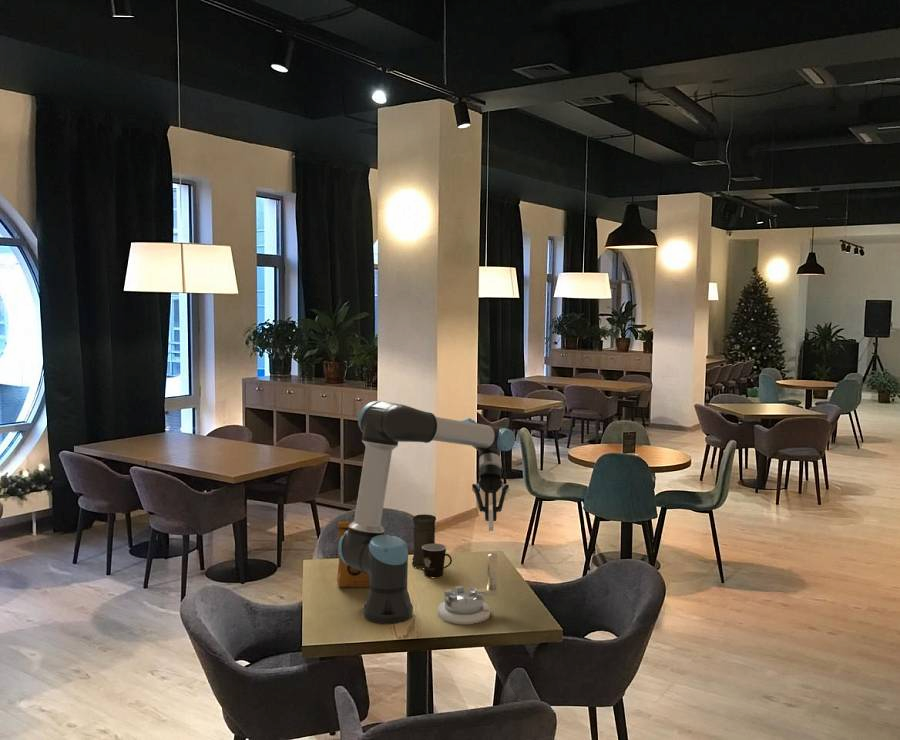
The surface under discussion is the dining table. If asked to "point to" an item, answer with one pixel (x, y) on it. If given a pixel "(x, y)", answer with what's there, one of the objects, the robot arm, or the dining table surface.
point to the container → (422, 536)
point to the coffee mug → (434, 559)
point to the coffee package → (346, 573)
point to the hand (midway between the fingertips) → (490, 528)
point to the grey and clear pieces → (473, 592)
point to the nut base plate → (463, 618)
